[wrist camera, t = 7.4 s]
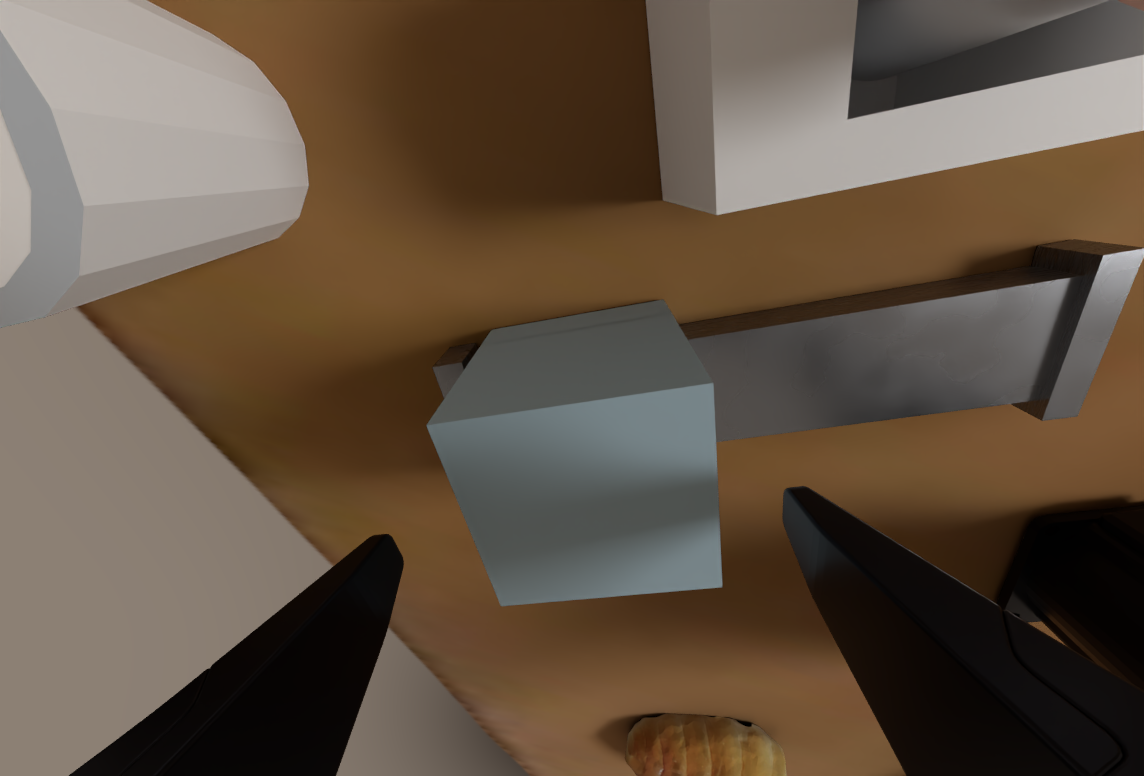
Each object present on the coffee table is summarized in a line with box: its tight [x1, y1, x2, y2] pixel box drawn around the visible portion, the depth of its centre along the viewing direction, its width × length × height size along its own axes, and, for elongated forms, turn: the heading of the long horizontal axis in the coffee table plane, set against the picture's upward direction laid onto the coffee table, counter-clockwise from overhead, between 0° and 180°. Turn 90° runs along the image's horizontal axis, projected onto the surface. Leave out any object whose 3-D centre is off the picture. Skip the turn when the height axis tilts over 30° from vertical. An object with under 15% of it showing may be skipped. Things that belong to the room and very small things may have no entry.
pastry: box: [625, 714, 787, 776], centre depth 25 cm, size 9×7×4 cm
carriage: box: [426, 300, 722, 606], centre depth 12 cm, size 6×6×6 cm
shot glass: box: [0, 0, 309, 328], centre depth 9 cm, size 7×7×7 cm
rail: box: [432, 239, 1144, 442], centre depth 14 cm, size 5×20×2 cm, turn 101°
